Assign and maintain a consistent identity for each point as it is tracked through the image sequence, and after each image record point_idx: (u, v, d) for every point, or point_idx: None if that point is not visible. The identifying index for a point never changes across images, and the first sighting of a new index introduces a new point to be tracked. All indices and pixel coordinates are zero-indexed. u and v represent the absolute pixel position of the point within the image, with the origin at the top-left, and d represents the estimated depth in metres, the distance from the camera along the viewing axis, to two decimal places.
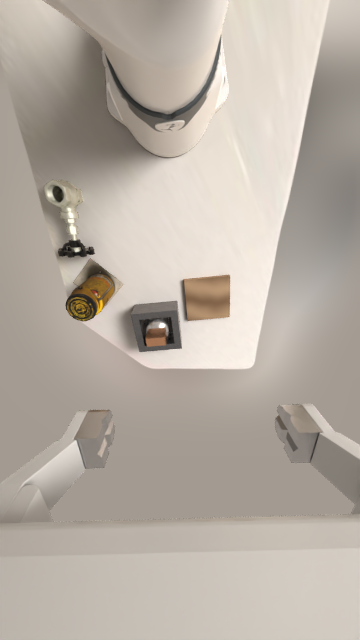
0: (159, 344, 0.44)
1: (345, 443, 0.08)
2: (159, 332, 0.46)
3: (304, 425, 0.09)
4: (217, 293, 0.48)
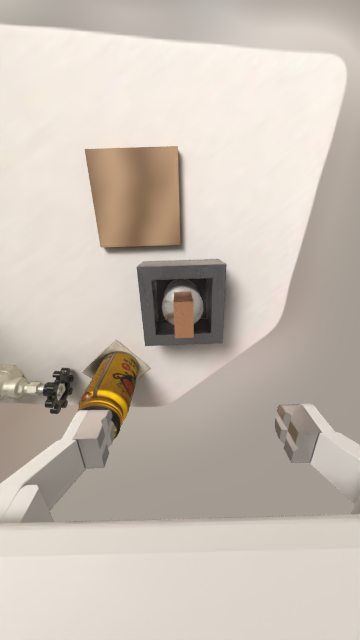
0: (190, 314, 0.22)
1: (345, 443, 0.08)
2: None
3: (304, 425, 0.09)
4: (122, 178, 0.24)
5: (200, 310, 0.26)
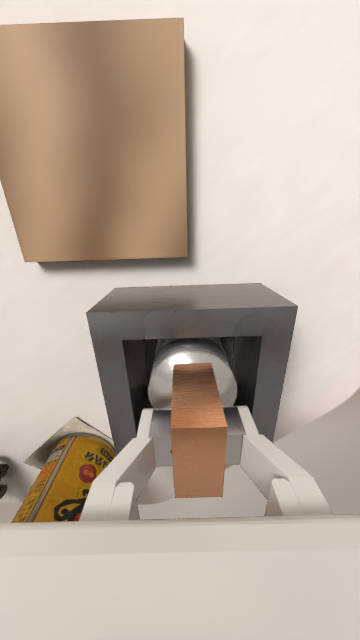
0: (217, 453, 0.08)
1: (263, 445, 0.08)
2: None
3: (231, 427, 0.09)
4: (55, 106, 0.10)
5: (230, 398, 0.12)
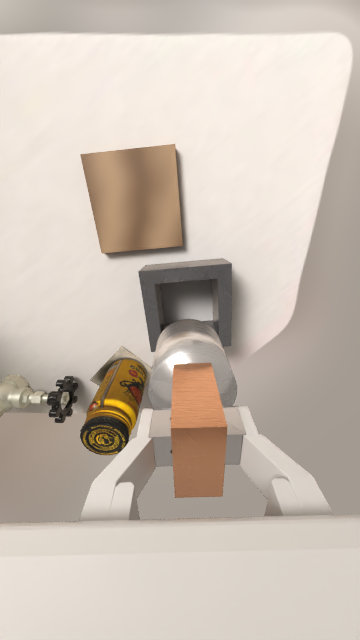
0: (217, 453, 0.08)
1: (264, 445, 0.08)
2: None
3: (231, 427, 0.09)
4: (120, 181, 0.23)
5: (230, 398, 0.12)
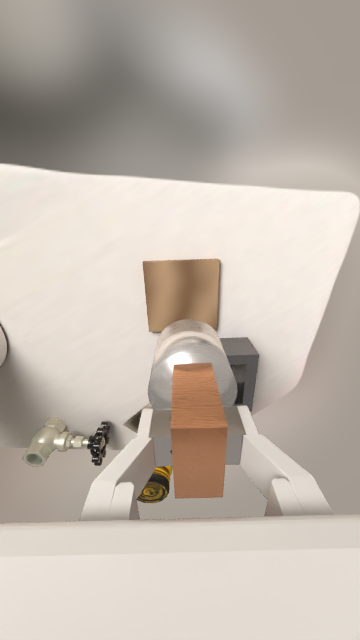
0: (217, 453, 0.08)
1: (264, 445, 0.08)
2: None
3: (231, 427, 0.09)
4: (172, 282, 0.28)
5: (230, 398, 0.12)
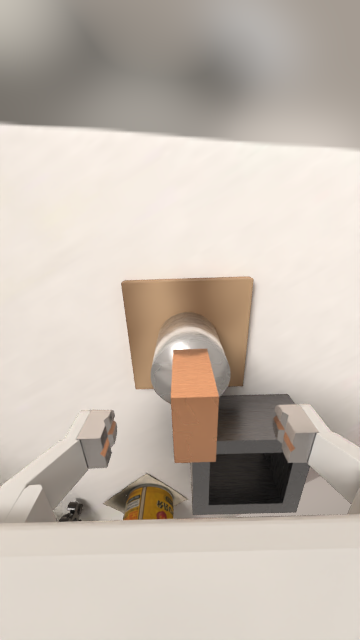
0: (210, 421, 0.09)
1: (341, 443, 0.08)
2: None
3: (301, 425, 0.09)
4: (172, 315, 0.17)
5: (224, 381, 0.13)
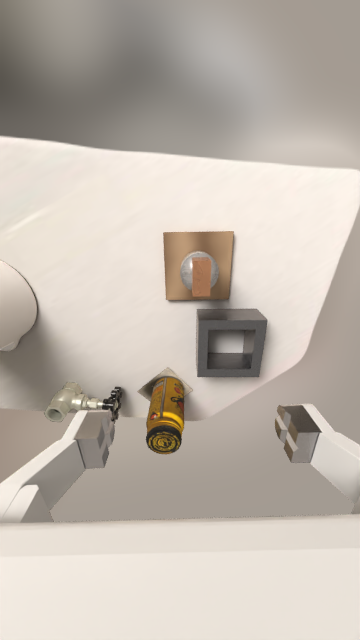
0: (208, 273, 0.23)
1: (345, 443, 0.08)
2: None
3: (304, 425, 0.09)
4: (189, 252, 0.31)
5: (215, 276, 0.28)
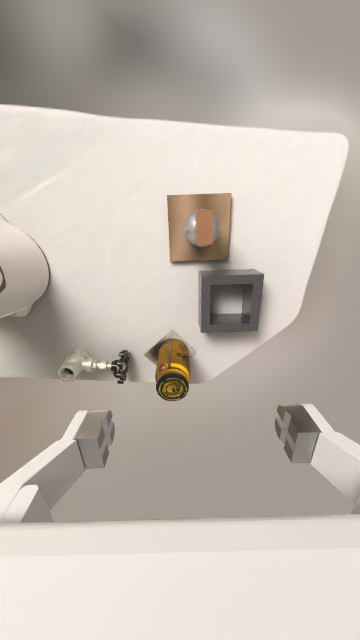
0: (210, 221, 0.26)
1: (345, 443, 0.08)
2: (195, 222, 0.28)
3: (304, 425, 0.09)
4: None
5: (216, 231, 0.30)
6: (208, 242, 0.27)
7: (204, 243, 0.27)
